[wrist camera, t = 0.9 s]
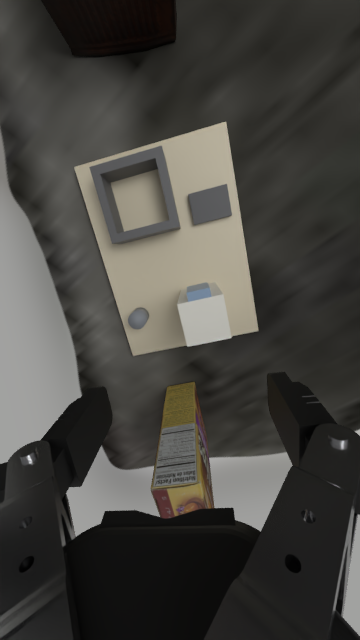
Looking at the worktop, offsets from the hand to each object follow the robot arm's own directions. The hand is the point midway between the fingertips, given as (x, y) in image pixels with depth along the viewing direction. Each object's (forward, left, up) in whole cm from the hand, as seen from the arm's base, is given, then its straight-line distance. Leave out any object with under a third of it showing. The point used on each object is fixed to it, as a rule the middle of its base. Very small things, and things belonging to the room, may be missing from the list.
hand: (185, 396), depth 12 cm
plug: (-2, -1, -18) cm, 18 cm away
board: (0, -7, -19) cm, 20 cm away
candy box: (+3, +14, -19) cm, 24 cm away
